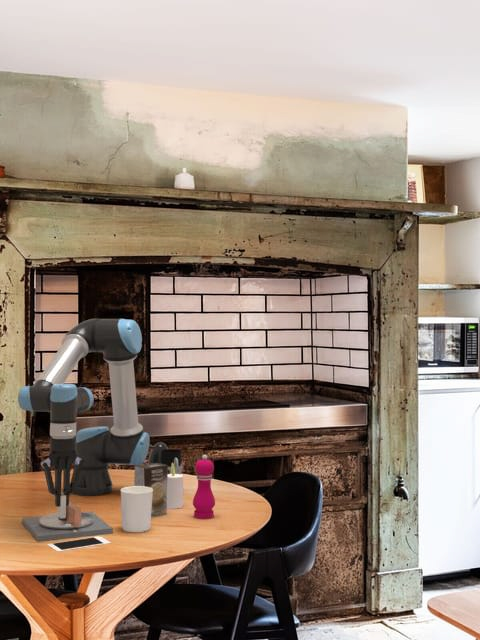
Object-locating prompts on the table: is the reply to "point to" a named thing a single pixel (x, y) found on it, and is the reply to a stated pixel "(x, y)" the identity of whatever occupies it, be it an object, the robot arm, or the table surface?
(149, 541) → the table surface
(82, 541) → the cell phone
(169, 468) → the picture frame
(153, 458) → the pump dispenser
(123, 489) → the candle holder
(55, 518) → the dial
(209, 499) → the pepper mill
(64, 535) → the dial plate
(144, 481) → the coffee box
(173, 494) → the candle
